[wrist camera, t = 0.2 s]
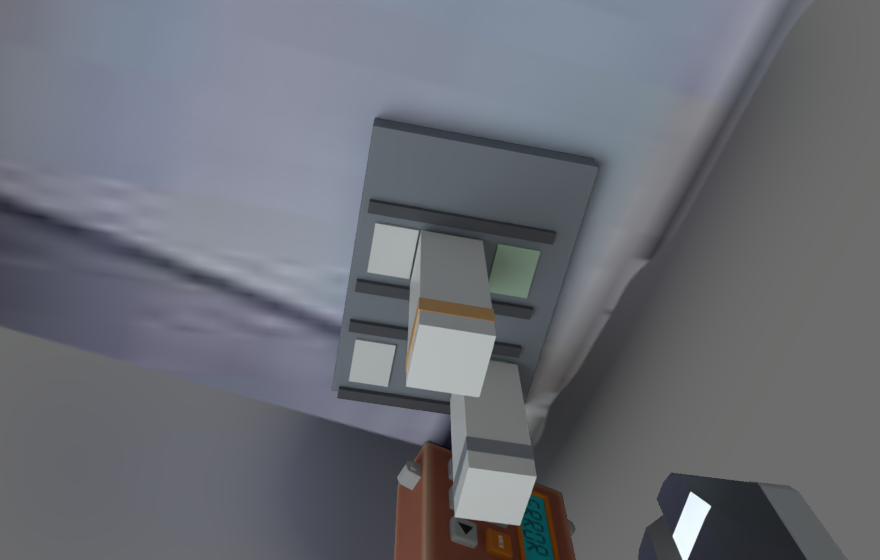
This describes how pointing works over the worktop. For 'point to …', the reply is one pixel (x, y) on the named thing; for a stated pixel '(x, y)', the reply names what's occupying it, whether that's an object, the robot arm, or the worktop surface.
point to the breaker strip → (510, 282)
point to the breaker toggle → (449, 316)
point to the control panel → (472, 541)
